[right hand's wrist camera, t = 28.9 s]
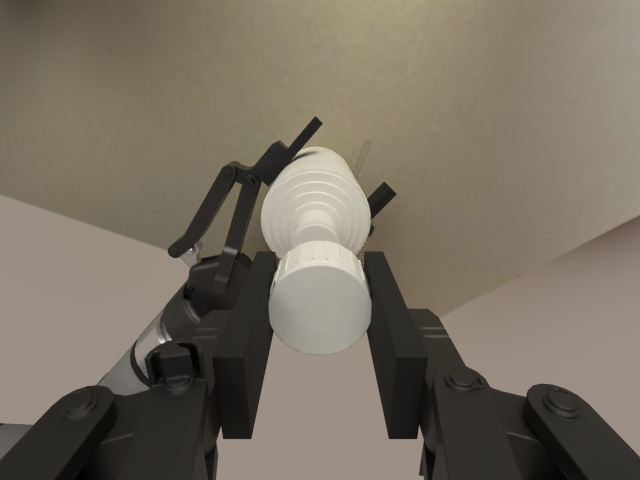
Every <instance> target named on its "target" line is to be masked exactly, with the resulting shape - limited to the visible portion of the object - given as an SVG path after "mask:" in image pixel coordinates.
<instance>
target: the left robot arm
mask: <svg viewBox="0 0 640 480" xmlns="http://www.w3.org/2000/svg"><path fill="white" fill-rule="evenodd" d="M322 124H323V123H322V122H321V121H320V120H319V119H318V118H317V117H316V116H315V117H314V118H313V120H312V121H311V122H310V123H309V124H308V125H307V127H306V128H305V129H304V130H303V131H302V133H301V134H300V135H299V136H298V137H297V139H296V140H295V141H294V142H293V143H292V144H291V146H290V147H289V148H288V147H287V146H286V145H285V144H283V143H282V142H281V141H280V140H279V141H277V142H275V143H273V144H272V145H271V146H270V148H269V149H268V150H267V151H266V152H265V154H264V155H263V156H262V157H261V159H260V160H259V161H258V162H257V163H256V165H255V166H253V167H246V166H244V165H241V164H240V163H239V162H237V161H233V162H230V163H229V164H227V165H225V166H224V167H223V168H222V169H221V171H220V173H219V175H218V176H217V178H216V180H215V182H214V183H213V185H212V187H211V189H210V190H209V192H208V194H207V196H206V198H205V199H204V201H203V203H202V205H201V206H200V208H199V210H198V212H197V213H196V215H195V217H194V219H193V221H192V222H191V224H190V226H189V228H188V229H187V231H186V233H185V234H184V235H182V236H181V237H180V238H179V239H178V240H176V241H175V242H174V243H173V244H172V245H171V246H170V247H169V248H168V254H169V255H170V256H171V257H173V258H178V257H180V258H181V259H182V260H183V261H184V262H185V263H186V264H187V265H188V266H189V267H190V271H189V278H188V280H187V281H186V282H185V283H184V285H183V286H182V287H181V288H180V289H179V290H178V292H177V293H176V294H175V295H174V296H173V298H172V299H171V300H170V301H169V302H168V303H167V305H166V306H165V308H164V309H163V310H162V311H161V312H160V313H159V314H158V315H157V316H156V318H155V319H154V320H153V321H152V322H151V323H150V324H149V326H148V327H147V328H146V329H145V330H144V331H143V333H142V334H141V335H140V336H139V338H138V339H137V340H136V342H135V343H134V344H133V346H132V347H131V348H130V349H129V350H128V351H127V352H126V353H125V354H124V356H123V357H122V358H121V359H120V360H119V361H118V362H117V363H116V364H115V365H114V367H113V368H112V369H111V370H110V371H109V372H108V373H107V374H106V375H105V376H104V377H103V378H102V379H101V380H100V381H99V383H98V384H97V385H101V386H105V387H108V388H109V389H110V390H111V391H112V392H113V395H114V398H118V397H123V396H127V395H131V394H135V393H139V392H142V391H145V390H148V389H150V383H149V378H148V374H147V369H146V365H145V360H144V359H145V357H146V356H147V354H148V353H149V352H150V351H151V350H152V349H154V348H155V347H156V346H158V345H160V344H162V343H164V342H167V341H170V340H174V339H179V338H189V339H192V335H193V334H194V332H195V331H196V328H197V326H198V325H199V323H200V321H201V319H202V318H203V317H205V316H206V315H207V314H208V313H210V312H211V311H212V310H232V309H233V307H234V305H235V303H236V300H237V298H238V296H239V293H240V291H241V289H242V286H243V284H244V282H245V279H246V277H247V275H248V272H249V270H250V268H251V266H252V263H253V262H252V261H251V260H250V258H249V257H248V256H246V255H245V254H244V253H243V252H242V253H241V254H240V252H241V249H242V246H243V242H244V238H245V234H246V231H247V228H248V225H249V221H250V218H251V215H252V212H253V208H254V205H255V202H256V199H257V195H258V192H259V189H260V186H261V182H262V181H263V182H264V183H265V184H266V185H267V186H270V184H271V183H272V182H273V181H274V180H275V179H276V177H277V176H278V175H279V174H280V173H281V172H282V170H283V169H284V168H285V167H286V166H287V165H288V163H289V162H290V161H291V160H292V159H293V158H294V156H295V155H296V154H297V153H298V152H299V151H300V149H301V148H302V147H303V146H304V145H305V144H306V142H307V141H308V140H309V139H310V138H311V137H312V135H313V134H314V133H315V132H316V131H317V130H318V128H319V127H320V126H321V125H322ZM235 182H238V183H241V184H242V188H241V191H240V195H239V198H238V202H237V205H236V208H235V212H234V215H233V219H232V222H231V226H230V229H229V233H228V236H227V240H226V243H225V246H224V249H223V251H222V254H220V255H215V256H211V257H206V258H201V257H200V255H199V252H200V250H201V249H202V243H201V241H200V240H199V239H200V238H201V237H202V236H203V235H204V234H205V232H206V231H207V229H208V228H209V226H210V224H211V223H212V221H213V219H214V218H215V216H216V214H217V212H218V211H219V209H220V207H221V206H222V204H223V202H224V200H225V199H226V197H227V195H228V194H229V192H230V190H231V189H232V187H233V185H234V183H235ZM395 195H396V193H395V192H394V191H393V190H392V189H391V188H390V187H389V186H388V185H387V184H386V183H385V182H383V183H382V185H381V186H380V187H379V188H378V189H377V190H376V191H375V192H374V193H373V194H372V195H371V196H370V197H369V198H368V199H367V201H368V204H369V208H370V214H371V219H372V218H373V217H374V216H375V215H376V214H377V213H378V212H379V211H380V210H381V209H382V208H383V207H384V206H385V205H386V204H387V203H388V202H389V201H390V200H391V199H392V198H393V197H394V196H395ZM373 230H374V226H373V224H372V223H371V224H370V230H369V234H368V237H369V236H370V235H371V234H372V233H373ZM368 237H367V238H368ZM276 271H277V268H276ZM32 426H33V425H24V424H3V423H0V459H1V458H2V457H3V456H4V455H5V454H6V453H7V452H8V451H9V450H10V449H11V448H12V447H13V446H14V445H15V444H16V443H17V442H18V441H19V440H20V439H21V438H22V437H23V436H24V434H25V433H26V432H27V431H28V430H29V429H30V428H31V427H32Z"/></svg>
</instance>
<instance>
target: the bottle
mask: <svg viewBox="0 0 640 480" xmlns="http://www.w3.org/2000/svg"><path fill="white" fill-rule="evenodd" d="M370 224H371V214H370V208H369V204H368V201H367V199H366V197H365V195H364V193H363V191H362V189H361V188H360V186H359V184H358V182H357V181H356V179H355V177H354V175H353V173H352V172H351V170H350V168H349V166H348V165H347V163H346V162H345V160H344V159H343V158H342V157H341V156H340V155H339V154H337V153H336V152H334V151H332V150H330V149H328V148H324V147H308V148H305V149H302V150H300V151H299V152H298V153H297V154H296V155H295V156H294V158H293V159H292V160H291V161H290V162H289V163H288V165H287V166H286V167H285V168H284V169H283V170H282V172H281V173H280V174H279V175H278V177H277V178H276V180H275V182H274V184H273V185H272V187H271V189H270V190H269V192H268V194H267V196H266V198H265V200H264V203H263V206H262V210H261V228H262V232H263V236H264V238H265V241H266V242H267V244H268V246H269V248H270V249H271V250H272V252H276V256H277V257H278V258H279V259H281V260H282V259H283V258H284V256H285V255H286V254H287V252H288V251H291V250H292V249H294V248H295V247H297V246H299V244H304V243H307V242H311V241H313V240H314V241H326V240H327V241H329V242H333V243H337V244H341V246H343V247H345V248H347V249H348V250H349V251H352V253H353V254H354V255H356V254H357V253H358V252H359V251H360V250H361V248H362V247H363V245H364V244H365V242H366V239H367V237H368V234H369V230H370Z"/></svg>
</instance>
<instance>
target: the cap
mask: <svg viewBox="0 0 640 480" xmlns="http://www.w3.org/2000/svg"><path fill="white" fill-rule="evenodd" d="M268 303H269V320H270V325H271V327H272V329H273V331H274V332H275V334H276V335H277V336H278V337H279V338H280V340H281V341H283V342H284V343H285V344H286V345H288V346H289V347H291V348H293V349H295V350H297V351H300V352H302V353H306V354H311V355H329V354H334V353H338V352H341V351H343V350H345V349H347V348H349V347H351V346H352V345H354V344H355V343H356V342H358V341H359V340H360V339H361V338H362V336H363V335H364V334H365V332H366V331H367V329H368V327H369V325H370V322H371V308H372V301H371V297H370V289H369V285H368V282H367V278H366V274H365V271H363V268H362V265H361V261H360V260H358V259H357V257H356V256H355V255H354V254H353V253H352V251H349V250H348V249H347V248H345V247H343V246H341V244H337V243H333V242H329V241H327V240H326V241H314V240H313V241H311V242H307V243H304V244H299V246H297V247H295V248H294V249H292V250H291V251H288V252H287V254H286V255H285V256H284V258H283V259H282V260H280V261H279V265H278V268H277V271H276V272H275V275H274V279H273V283H272V287H271V290H270V298H269V302H268Z"/></svg>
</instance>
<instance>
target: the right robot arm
mask: <svg viewBox="0 0 640 480" xmlns="http://www.w3.org/2000/svg"><path fill="white" fill-rule="evenodd" d="M364 271H365V274H366V278H367V282H368V285H369V289H370V297H371V301H372V308H371V322H370V325H369V327H368V329H367V335H368V340H369V345H370V350H371V354H372V359H373V364H374V369H375V374H376V379H377V383H378V388H379V393H380V398H381V403H382V407H383V412H384V417H385V422H386V427H387V432H388V436H389V439H417V436H418V428H419V425H420V428H421V432H422V435H423V438H424V444H423V451H422V457H421V464H420V471H419V475H421V476H423V475H424V480H640V457H639V456H638V455H637V454H636V453H635V452H634V451H633V450H632V449H631V447H630V446H629V445H628V444H627V443H626V442H625V441H624V440H623V439H622V438H621V437H620V436H619V435H618V434H617V433H616V432H615V431H614V430H613V429H612V428H611V427H610V426H609V425H608V424H607V423H606V422H605V421H604V420H603V419H602V418H601V417H600V415H599V414H598V413H597V412H596V411H595V410H594V409H593V408H592V407H591V406H590V405H589V404H588V403H587V402H585V401H584V400H583V399H582V398H580V397H579V396H578V395H576V394H574V393H572V392H570V391H569V390H567V389H564V388H561V387H558V386H555V385H550V384H538V385H533V386H532V387H531V388H530V389H529V390H528V392H527V396H526V397H523V396H519V395H515V394H511V393H506V392H502V391H499V390H496V389H493V388H491V387H490V386H489V384H488V383H487V381H486V379H485V378H484V377H483V376H481V375H480V374H479V373H478V372H476V371H474V370H472V369H470V368H468V367H466V365H465V364H464V362H463V360H462V358H461V357H460V355H459V353H458V351H457V350H456V348H455V346H454V344H453V342H452V341H451V339H450V338H449V335H448V334H447V332H446V330H445V329H444V326H443V325H442V323H441V321H440V319H439V318H438V317H437V316H436V315H435V314H433V313H432V312H431V311H430V310H428V309H407V307H406V304H405V302H404V300H403V297H402V295H401V293H400V290H399V288H398V286H397V284H396V281H395V279H394V277H393V274H392V272H391V270H390V267H389V265H388V263H387V260H386V258H385V256H384V253H383V252H365V255H364ZM275 272H276V252H257V254H256V256H255V259H254V261H253V263H252V266H251V268H250V270H249V272H248V275H247V277H246V279H245V282H244V284H243V286H242V289H241V291H240V293H239V296H238V298H237V300H236V303H235V305H234V307H233V309H232V310H212V311H211V312H210V313H208V314H207V315H206V316H205V317H203V318H202V319H201V321H200V323H199V325H198V326H197V328H196V331H195V332H194V334H193V335H192V339H189V338H179V339H174V340H170V341H167V342H164V343H162V344H160V345H158V346H156V347H155V348H154V349H152V350H151V351H150V352H149V353H148V354H147V356H146V357H145V359H144V360H145V365H146V369H147V374H148V378H149V383H150V389H148V390H145V391H142V392H139V393H135V394H131V395H127V396H123V397H118V398H114V395H113V392H112V391H111V390H110V389H109V388H108V387H105V386H101V385H95V386H87V387H84V388H81V389H78V390H75V391H73V392H71V393H69V394H67V395H66V396H64V397H62V398H61V399H60V400H58V401H57V402H56V403H55V404H54V405H52V406H51V407H50V409H49V410H48V411H47V412H46V413H45V414H44V415H43V416H42V417H41V418H40V419H39V420H38V421H37V422H36V423H35V424H34V425H33V426H32V427H31V428H30V429H29V430H28V431H27V432H26V433H25V434H24V436H23V437H22V438H21V439H20V440H19V441H18V442H17V443H16V444H15V445H14V446H13V447H12V448H11V449H10V450H9V451H8V452H7V453H6V454H5V455H4V456H3V457H2V458H1V459H0V480H216V472H217V461H218V451H217V444H216V440H217V437H218V434H219V430H220V427H222V434H223V439H251V437H252V433H253V428H254V423H255V418H256V413H257V408H258V404H259V399H260V394H261V389H262V384H263V379H264V375H265V370H266V365H267V360H268V355H269V350H270V346H271V341H272V336H273V329H272V327H271V325H270V320H269V303H268V302H269V298H270V290H271V287H272V283H273V279H274V275H275Z"/></svg>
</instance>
